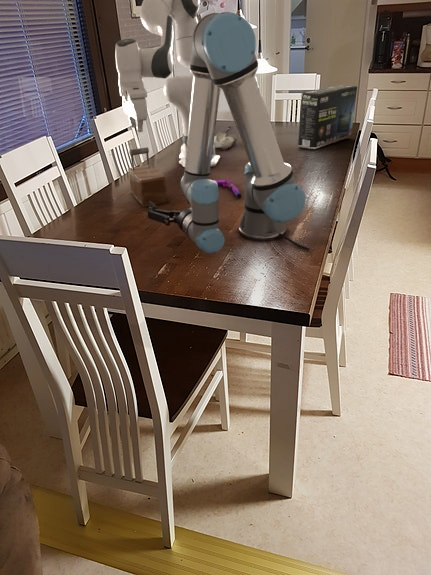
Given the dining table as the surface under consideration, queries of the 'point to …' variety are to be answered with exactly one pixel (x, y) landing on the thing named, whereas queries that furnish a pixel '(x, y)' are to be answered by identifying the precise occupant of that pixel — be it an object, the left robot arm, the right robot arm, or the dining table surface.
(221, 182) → the purple curved bar
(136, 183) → the chest
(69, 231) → the dining table surface
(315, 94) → the router box
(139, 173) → the lid
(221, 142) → the fossil
